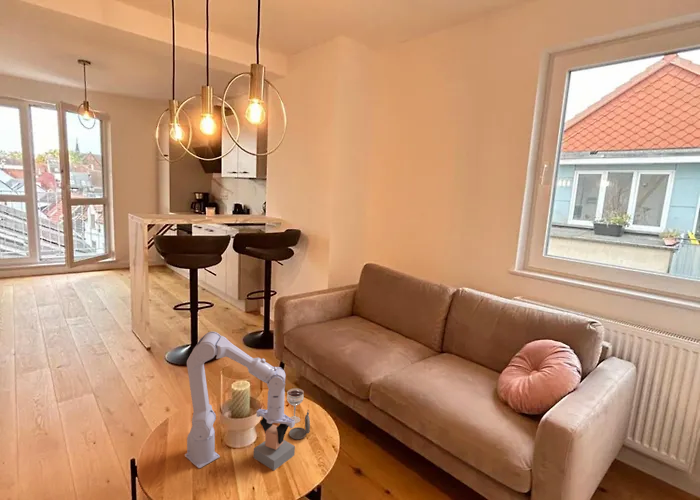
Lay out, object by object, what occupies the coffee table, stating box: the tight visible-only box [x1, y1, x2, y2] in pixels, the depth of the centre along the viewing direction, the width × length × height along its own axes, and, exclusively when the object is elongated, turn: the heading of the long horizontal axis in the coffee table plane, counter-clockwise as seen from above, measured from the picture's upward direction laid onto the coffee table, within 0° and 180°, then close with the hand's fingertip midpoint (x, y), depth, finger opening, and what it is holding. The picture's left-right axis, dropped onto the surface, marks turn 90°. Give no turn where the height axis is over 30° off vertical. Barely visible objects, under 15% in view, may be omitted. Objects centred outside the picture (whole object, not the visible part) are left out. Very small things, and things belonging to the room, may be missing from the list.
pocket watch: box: [288, 410, 311, 440], centre depth 151 cm, size 8×8×10 cm
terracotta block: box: [264, 424, 283, 450], centre depth 137 cm, size 4×4×6 cm
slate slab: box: [253, 439, 296, 471], centre depth 138 cm, size 10×10×4 cm
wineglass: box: [286, 387, 305, 424], centre depth 160 cm, size 7×7×12 cm
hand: (274, 439), depth 137 cm, fingers closed on terracotta block, 4 cm apart
